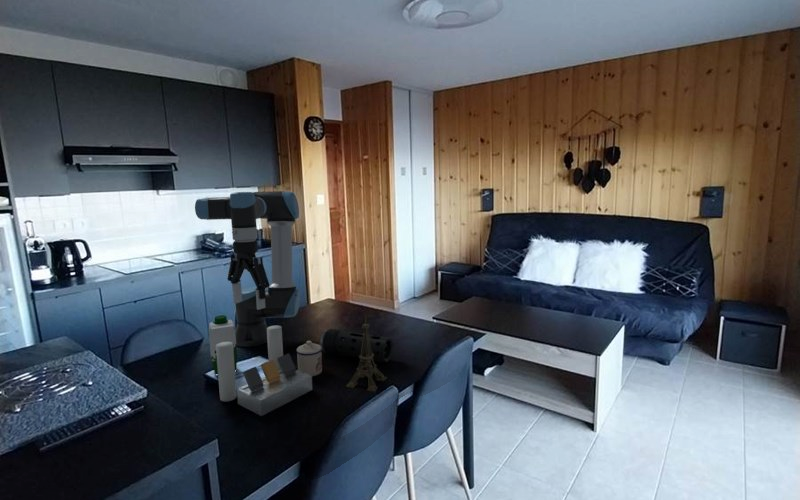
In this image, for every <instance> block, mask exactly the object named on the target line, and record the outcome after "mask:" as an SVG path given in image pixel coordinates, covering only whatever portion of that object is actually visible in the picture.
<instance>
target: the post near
mask: <svg viewBox="0 0 800 500" xmlns="http://www.w3.org/2000/svg"><path fill="white" fill-rule="evenodd" d="M216 354H217V366H218V376H217V377H218V389H219V399H220V401H221V402H231V401H234V400H235V399H237V379H236V373H235V365H234V352H233V343H232V342H221V343H219V344H217V345H216Z"/></svg>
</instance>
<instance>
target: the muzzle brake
mask: <svg viewBox="0 0 800 500" xmlns="http://www.w3.org/2000/svg"><path fill="white" fill-rule="evenodd" d="M369 339H370V346H371V352H372V353H373V354H374V356H373V360H374V362H375V363H382V364H388V362H389V361H390V359H391V357H392V355H393V349H394V342H393V339H392V338H391V337H387V336H379V335H373V334H369ZM362 342H363V333H358V332H352V331H346V330H345V331H344V330H343V331H342V330H341V329H338V328H337V329H336V328H329V329H325V330H323V331H322V332H321V334H320V337H319V345H320V346H321V347H322V351H324V352H325V353H327V354H334V355H336V354H337V356H339V357H344V358H346V357H348V356H349V357H354V358H358V359H359V360H360V358H359V355H361V350H362Z"/></svg>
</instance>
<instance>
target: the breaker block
mask: <svg viewBox="0 0 800 500" xmlns="http://www.w3.org/2000/svg"><path fill="white" fill-rule="evenodd" d="M278 372H279V374H280V377H281V379H279V380H277V381H275V382H273V383H270V384H269V383H268V382H267V379H266V377H265V376H264V377H261V379H262V381H263V385H264V386H263V387H262V388H259V389H257V390H255V391H253V392H251V390H250V389H249V387H248V384H247V383H246V384H245V385H242V386H240V387H239V388H238V387H237V388H236V392H237V397H236V399H237V405H239V406H241V407H243V408H245V409H247V410H249V411H251V412H253V413H255V414H256V415H259V416H260V417H264V416H265V415H266V414H268V413H270V412H272V411H274V410H276V409H278V408H281V407H282V406H284V405H286V404H287V403H290V402H292V401H293V400H295V399H297V398H300V397H301V396H303V395H305V394H308V393H309V392H311V391H313V376H311V375H308V374H306V373H303V372H301V371H298V369H296V372H295V373H292V374H290V375H288V376H285V375H284V373H283V371H282V370H279V371H278Z"/></svg>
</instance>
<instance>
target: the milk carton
mask: <svg viewBox="0 0 800 500" xmlns="http://www.w3.org/2000/svg"><path fill="white" fill-rule="evenodd" d="M227 318H228V317H227V315H218V316H217V315H216V316H215V317H214V321H213V322H209V324H208V325H209V326H208V337H209V349H210V360H211V364H212V368H213V371H214V374H218V366H217V354H216V345H217V344H219V343H221V342H232V343H233V352H234V365H235V370H236V369H237V368H238V367H237V366H238V350H237V348H238V346H237V345H236V335H235V333H236V332H235V331H236V327H235V324H234V322H233V320H232V319H227ZM236 371H237V370H236Z"/></svg>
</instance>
